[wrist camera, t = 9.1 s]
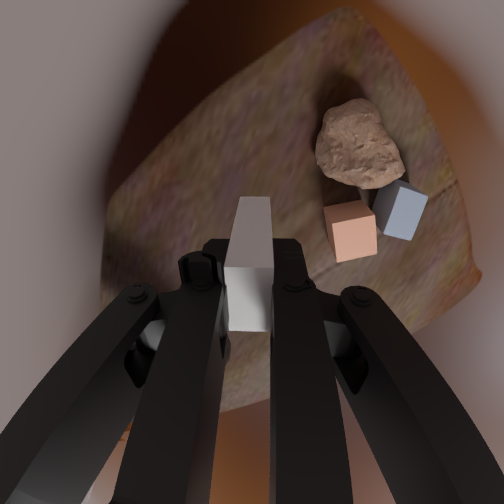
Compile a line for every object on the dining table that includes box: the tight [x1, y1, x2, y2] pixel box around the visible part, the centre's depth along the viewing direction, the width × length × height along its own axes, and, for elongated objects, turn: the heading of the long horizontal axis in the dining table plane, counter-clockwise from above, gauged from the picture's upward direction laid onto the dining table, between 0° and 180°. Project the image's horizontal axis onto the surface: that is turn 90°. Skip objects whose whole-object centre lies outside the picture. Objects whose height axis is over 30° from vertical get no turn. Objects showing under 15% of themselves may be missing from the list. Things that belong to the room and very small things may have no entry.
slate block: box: [371, 179, 428, 241], centre depth 35 cm, size 5×7×6 cm
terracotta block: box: [323, 200, 377, 262], centre depth 38 cm, size 6×6×6 cm
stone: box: [315, 98, 405, 189], centre depth 31 cm, size 12×9×10 cm
